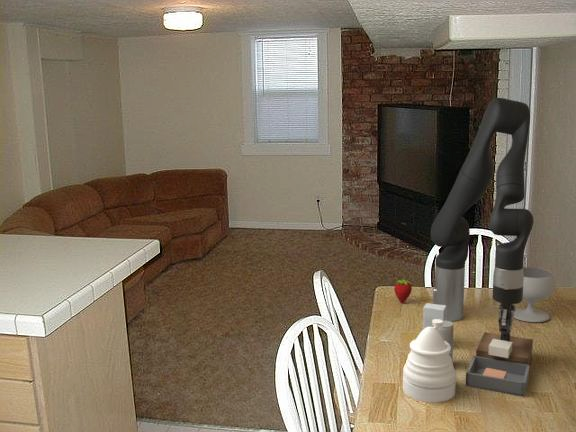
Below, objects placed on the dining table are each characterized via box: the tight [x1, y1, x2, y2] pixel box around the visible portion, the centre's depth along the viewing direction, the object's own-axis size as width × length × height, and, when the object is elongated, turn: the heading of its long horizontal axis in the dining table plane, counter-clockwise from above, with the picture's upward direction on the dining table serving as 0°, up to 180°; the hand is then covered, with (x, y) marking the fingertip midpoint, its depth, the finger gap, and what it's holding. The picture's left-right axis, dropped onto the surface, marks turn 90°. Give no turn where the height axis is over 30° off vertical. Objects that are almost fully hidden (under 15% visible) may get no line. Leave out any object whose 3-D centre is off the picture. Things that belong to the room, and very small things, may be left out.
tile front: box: [483, 368, 507, 379], centre depth 157 cm, size 5×5×2 cm
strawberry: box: [393, 276, 413, 304], centre depth 215 cm, size 6×8×10 cm
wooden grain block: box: [475, 331, 534, 366], centre depth 169 cm, size 13×13×5 cm
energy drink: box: [433, 320, 454, 363], centre depth 168 cm, size 5×5×12 cm
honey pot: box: [402, 319, 457, 403], centre depth 154 cm, size 13×13×18 cm
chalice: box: [514, 266, 556, 323], centre depth 200 cm, size 14×14×15 cm
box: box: [465, 355, 531, 398], centre depth 159 cm, size 14×11×4 cm
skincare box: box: [422, 302, 447, 330], centre depth 180 cm, size 6×4×12 cm
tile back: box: [488, 339, 512, 358], centre depth 164 cm, size 5×5×2 cm
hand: (505, 344), depth 167 cm, fingers closed
